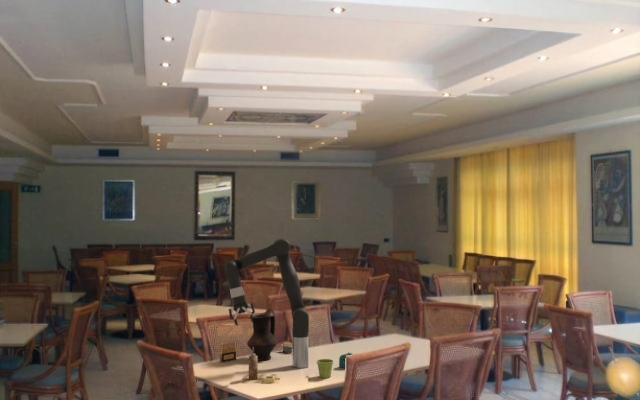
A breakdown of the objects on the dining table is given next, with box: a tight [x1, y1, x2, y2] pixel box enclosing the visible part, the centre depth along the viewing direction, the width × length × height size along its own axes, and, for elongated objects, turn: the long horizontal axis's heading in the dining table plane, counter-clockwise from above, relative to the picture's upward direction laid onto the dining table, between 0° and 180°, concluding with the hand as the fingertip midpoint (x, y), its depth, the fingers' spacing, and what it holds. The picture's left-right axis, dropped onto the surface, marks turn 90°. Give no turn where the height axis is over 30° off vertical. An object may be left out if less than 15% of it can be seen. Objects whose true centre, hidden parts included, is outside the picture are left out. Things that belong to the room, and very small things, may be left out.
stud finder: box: [263, 376, 275, 384], centre depth 335 cm, size 5×6×2 cm
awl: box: [248, 347, 258, 380], centre depth 339 cm, size 5×5×17 cm
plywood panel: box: [239, 373, 282, 384], centre depth 340 cm, size 20×18×1 cm
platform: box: [280, 341, 293, 354], centre depth 409 cm, size 12×18×7 cm, turn 46°
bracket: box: [338, 352, 353, 369], centre depth 367 cm, size 18×7×8 cm, turn 55°
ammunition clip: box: [219, 339, 237, 363], centre depth 386 cm, size 11×2×12 cm, turn 133°
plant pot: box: [316, 358, 335, 379], centre depth 348 cm, size 9×9×9 cm
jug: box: [246, 307, 279, 361], centre depth 392 cm, size 21×18×30 cm
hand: (244, 323), depth 363 cm, fingers open, 8 cm apart
